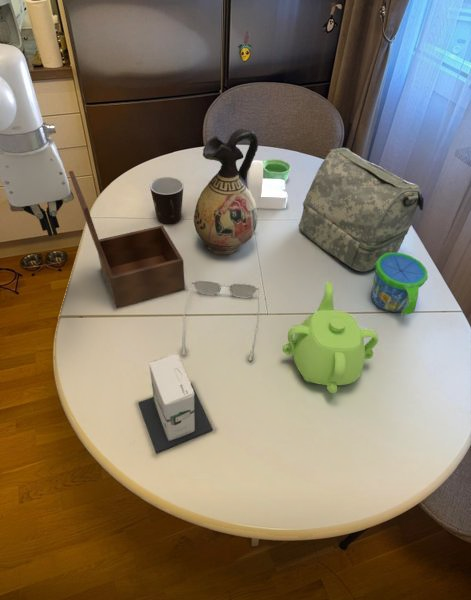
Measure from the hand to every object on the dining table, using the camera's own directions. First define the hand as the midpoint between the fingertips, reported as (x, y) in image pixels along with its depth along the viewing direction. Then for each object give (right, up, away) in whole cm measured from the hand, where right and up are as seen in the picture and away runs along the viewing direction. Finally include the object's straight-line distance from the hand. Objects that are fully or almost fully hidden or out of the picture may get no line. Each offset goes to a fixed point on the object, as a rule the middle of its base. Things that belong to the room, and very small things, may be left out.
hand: (52, 231), depth 79 cm
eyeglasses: (+32, -18, +10) cm, 38 cm away
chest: (+13, -8, +18) cm, 24 cm away
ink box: (+24, -33, -6) cm, 41 cm away
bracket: (+40, +17, +45) cm, 62 cm away
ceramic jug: (+33, +1, +29) cm, 44 cm away
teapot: (+52, -25, +4) cm, 58 cm away
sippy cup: (+70, -13, +17) cm, 73 cm away
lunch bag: (+65, +2, +32) cm, 72 cm away
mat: (+24, -33, -6) cm, 42 cm away
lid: (+7, +2, +3) cm, 7 cm away
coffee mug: (+16, +8, +35) cm, 39 cm away
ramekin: (+47, +26, +54) cm, 76 cm away
